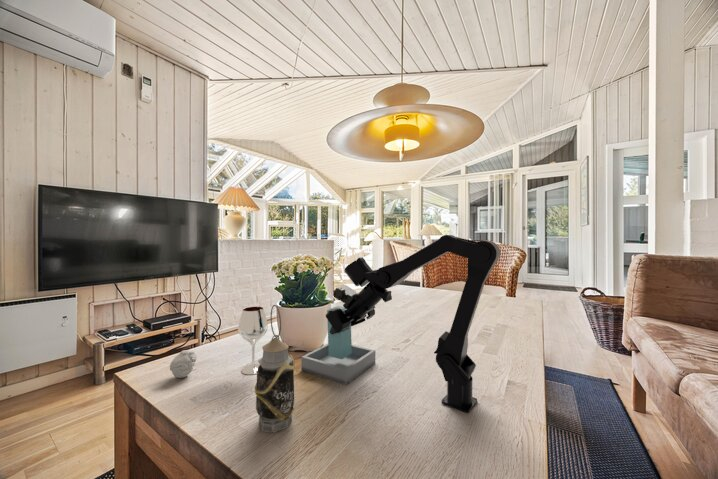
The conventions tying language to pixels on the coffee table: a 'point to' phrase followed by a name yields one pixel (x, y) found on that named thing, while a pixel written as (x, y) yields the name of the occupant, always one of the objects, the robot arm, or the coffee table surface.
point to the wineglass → (252, 332)
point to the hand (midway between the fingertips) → (336, 330)
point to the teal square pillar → (339, 340)
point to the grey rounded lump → (183, 363)
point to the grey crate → (338, 364)
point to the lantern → (275, 385)
